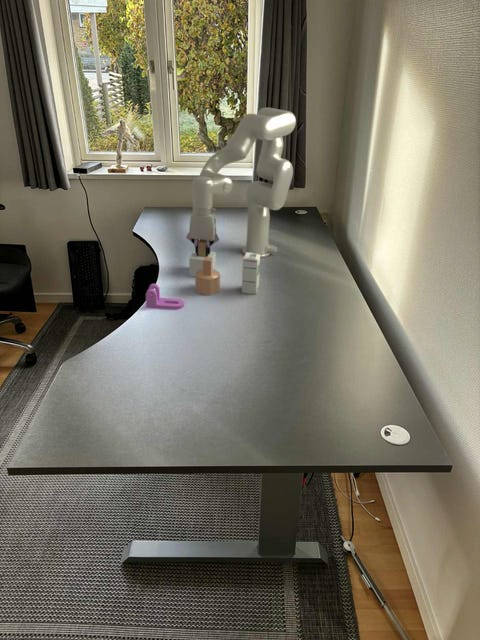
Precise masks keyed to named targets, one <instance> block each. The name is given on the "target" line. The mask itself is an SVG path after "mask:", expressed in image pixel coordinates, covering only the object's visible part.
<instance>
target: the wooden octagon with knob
mask: <svg viewBox="0 0 480 640" xmlns="http://www.w3.org/2000/svg"><path fill="white" fill-rule="evenodd" d="M194 282H195V283H194V285H195V292H197V294H200V295H204V296H212V295H215V294H218V293H219V292H220V290H221V273H220V272H219V271H218V270H217V269H215V270H214V269H213V258H210V257H204V259H203V269H201V270H198V271H197V272H196V276H195V277H194Z"/></svg>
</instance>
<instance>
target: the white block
mask: <svg viewBox="0 0 480 640" xmlns="http://www.w3.org/2000/svg"><path fill="white" fill-rule="evenodd" d="M206 245H207V243H206V240H201V239H199V242H198V256H197V253H195V249H194V250H193V252H192V253H191V255H190V256H189V277H194V278H195V276H196V272H197V271H198V270H201V269H203V259H204V257H206ZM208 257H210V258H213V269H214V270H216V259H217V258H216V251H211V250H210V254H209V255H208Z"/></svg>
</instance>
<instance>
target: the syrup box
mask: <svg viewBox="0 0 480 640" xmlns="http://www.w3.org/2000/svg"><path fill="white" fill-rule="evenodd" d="M243 255H244V256H243V258H242V269H241V270H242V271H241V273H242V274H241V276H242V277H241V293H243V294H249V295H257V294H258V290H259V288H260V273H261V272H260V270H261V269H260V268H261V258H260V254H258V253H247V252H246V254H243Z"/></svg>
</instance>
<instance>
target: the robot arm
mask: <svg viewBox="0 0 480 640" xmlns="http://www.w3.org/2000/svg"><path fill="white" fill-rule="evenodd" d="M296 123H297V119H296V115H295V114H294V113H293V112H292V111H290V110H284V109H278V108H274V107H262V108H260V109H259V110H258V111H257V114H256V113H248V114H245V115H244V116H243V117H242V118H241V120H240V121H239V124H238V126H237V127H236V130H235V131H234V133H232V136H231V138H230V139H229V141H228V142H227V144H226V145H225V146H224V147H222V148H221V149H219V150H217V152H215V153H214V154H212V155H211V156H210V158H209V159H208V160H207V161H206V163H205V164H204V166H203V168H202V170H201V172H200V173H199V176H196V177H194V178H193V179H192V212H191V214H190V219H189V230H188V233H187V234H186V237H185V238H186V239H187V240H188V241H190V242H191V243H192V244H193V246H194V250H195V253H197V256H198V242H199V240H200V239H201V240H206V243H207V245H206V257H208V255H209V254H210V251H211V247H212V245H213V244H216V243H217V242H219V241H220V237H219V236H218V234H217V219H216V214H215V213H217V208H215V207H214V206H213V204H214V203H213V202H214V197H222V196H226V195H228V194H230V193H231V192H232V190H233V188H234V183H233V180H232V178H231V177H229V176H227V175H224V174H221V173H219V172H220V170H221V169H223V168H224V167H225V166H227V165H229V164H232V163H236V162H239V161H243V160H245V159H246V158H247V156H248V154H249V153H250V151H251V149H252V147H253V146H254V143H255V142H256V141H257V140H261V141H262V144H261V145H262V146H261V149H260V153H259V157H258V161H257V165H256V175H257V176H259V178H262V179H264V180H268V181H272V184H271V183H268V182H265V181H261V180H254V181H251V182H250V183H249V184H248V186H247V188H246V194H245V195H246V202H247V223H246V224H247V225H246V241H245V242H246V245H245V246H244V247H242V254H243V255H245V254H246V252H247V253H258V254H260V259H261V258H266V257H268V256H270V255H271V252H275V253H277V252H278V247H277V246H276V245H274V244H273V245H271V244H270V242H269V231H270V218H271V216H270V215H271V214H270V210H271V211H272V210H273V211H279V210H280V209H282V207H283V206H284V205H285V203H286V200H287V196H288V194H289V190H290V188H291V187H290V186H291V184H292V179H293V176H294V168H293V164H292V162H290V160H288V159H286V158H281V157H282V153H283V149H284V138H283V137H285V136H288V135H290V134H291V133H293V131H294V129H295V127H296Z"/></svg>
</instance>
